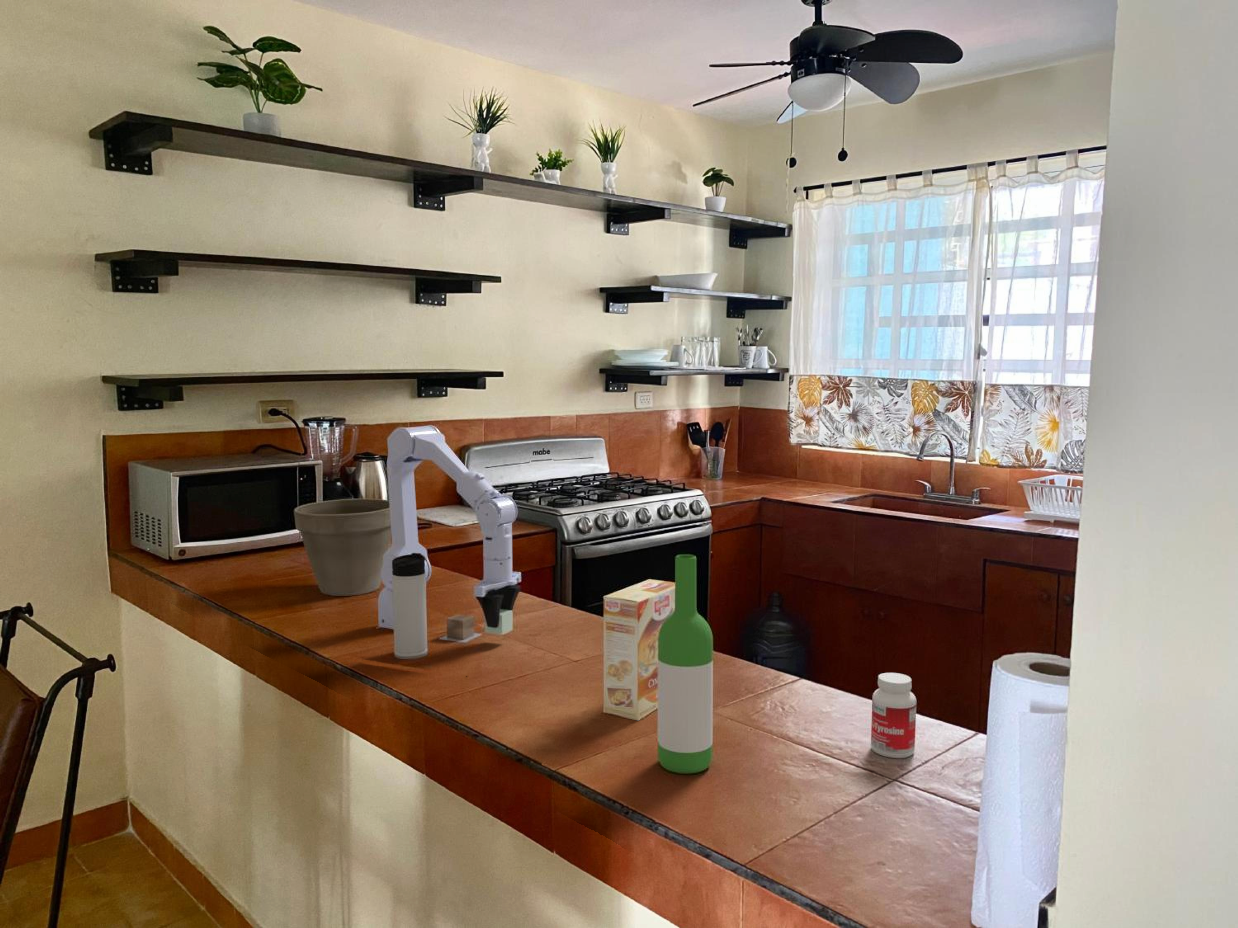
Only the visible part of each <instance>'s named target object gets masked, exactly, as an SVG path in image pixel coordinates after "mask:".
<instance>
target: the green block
mask: <svg viewBox="0 0 1238 928" xmlns="http://www.w3.org/2000/svg"><path fill="white" fill-rule="evenodd" d="M513 615H514V614H513V610H504V609H500V614H499V624H498V627H497V628H493V627H488V626H487V623H486V619H485V618H484V633H485V634H491V635H493V634H494V635H498V636H499V635H500V636H503V635H506V634H508V633H510V632H512V631H513V629H514V628H513V627H514V626H513V624H514V622H513V619H514V617H513Z"/></svg>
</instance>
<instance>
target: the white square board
mask: <svg viewBox="0 0 1238 928" xmlns="http://www.w3.org/2000/svg"><path fill="white" fill-rule="evenodd" d="M482 635H483V633H476V632H474V635H473V636H471V637H469V638H467V639H465V640H459V639H452V638H447V634H446V635H444V636H442V637H440V638H438V640H442V641H443V640H444V641H450V642H458V643H464V644H465V643H467V642H469V641H472V640H474V639H475V638H479V637H480V636H482Z"/></svg>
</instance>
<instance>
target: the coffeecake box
mask: <svg viewBox="0 0 1238 928" xmlns="http://www.w3.org/2000/svg"><path fill="white" fill-rule="evenodd" d="M602 598H603V713H605V714H608V715H614V716H618V717H621V718H626V719H629V720H634V721H640V720H642V719H643V718H645V717H646V716H648V715H650V714H651V713H653V712H654V711H656V710H658V637H659V632H660V628H661V626H662V624H663V623H664V621H665V620H666V619H667V618H668V617H669V616H670V615H672V614H673V613H674V611H675V581H674V582H673V581H665V580H658V579H651V578H649V579H646V580H643V581H641V582H639V583H635V584H633V585H630V586H627V587H625V588H623V589H620V590H617V591H614V592H612V593H609V594H607V595H604V596H603V597H602Z"/></svg>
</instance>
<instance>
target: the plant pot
mask: <svg viewBox="0 0 1238 928" xmlns="http://www.w3.org/2000/svg"><path fill="white" fill-rule="evenodd" d="M293 516H294V523H295V529H296V530H297V531H299V533H300V536H301V538H302V541H303V545H304V548H305V551H306V554H307V558H308V560H309V563H310V566H311V568H312V572H313V575H314V578H315V580H316V583H317V586H318V588H319V591H320V593H322V594H323V595H327V596H332V597H333V596H334V597H349V596H351V597H352V596H360V595H365V594H368V593H372V592H375V591H377V590H378V589H379V588H380V587H381V583H382V579H381V569H382V566H383V555H384V554H385V553H386V551H387V550H388V549H389V548H390V547H389V546H390V543H391V540H392V533H391V519H390V504H389V499H388V500H387V499H380V498H345V499H344V498H343V499H332V500H331V499H330V500H324V501H323V500H322V501H316V502H311V503H306V504H302V505H299V506H297V507H295V508H294V509H293Z"/></svg>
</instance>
